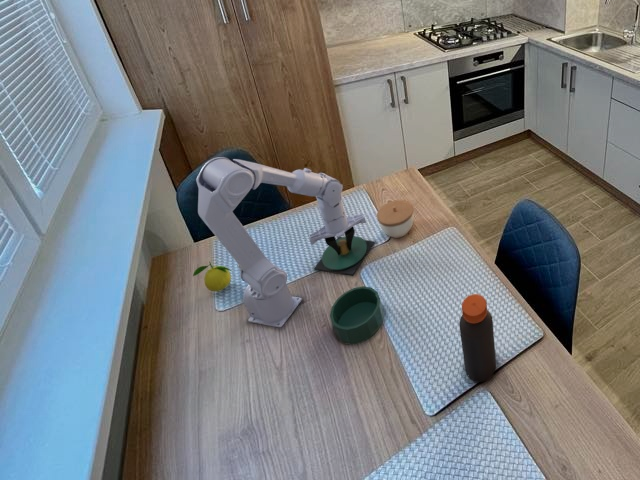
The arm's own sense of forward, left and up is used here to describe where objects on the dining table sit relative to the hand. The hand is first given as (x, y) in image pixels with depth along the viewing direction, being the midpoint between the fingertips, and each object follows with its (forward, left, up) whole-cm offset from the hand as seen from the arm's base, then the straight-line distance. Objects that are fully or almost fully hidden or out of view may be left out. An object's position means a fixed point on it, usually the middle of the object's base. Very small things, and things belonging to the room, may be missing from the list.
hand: (344, 250), depth 116 cm
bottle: (+47, -23, -2) cm, 52 cm away
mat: (0, 0, -2) cm, 2 cm away
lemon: (-27, -16, -2) cm, 31 cm away
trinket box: (+11, +12, -2) cm, 16 cm away
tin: (+15, -18, -2) cm, 23 cm away
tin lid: (0, 0, -1) cm, 1 cm away
